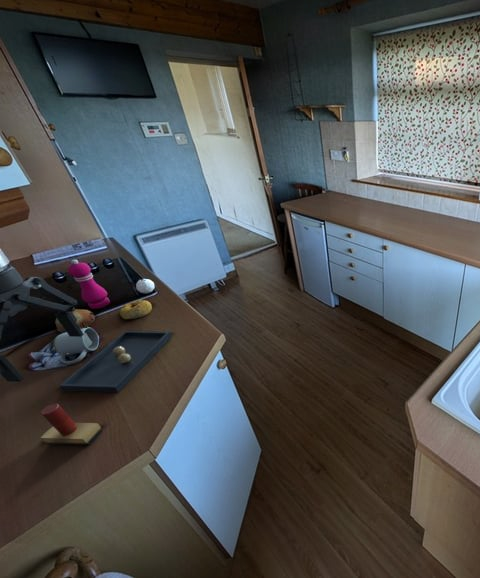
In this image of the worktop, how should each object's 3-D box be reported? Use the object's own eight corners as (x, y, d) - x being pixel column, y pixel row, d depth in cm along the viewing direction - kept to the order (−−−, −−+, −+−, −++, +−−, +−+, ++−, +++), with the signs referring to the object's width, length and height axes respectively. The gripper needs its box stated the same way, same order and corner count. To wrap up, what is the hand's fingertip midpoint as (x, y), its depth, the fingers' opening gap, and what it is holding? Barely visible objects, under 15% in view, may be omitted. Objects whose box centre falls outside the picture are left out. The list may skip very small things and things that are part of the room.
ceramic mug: (71, 346, 97) (58, 328, 93) (102, 340, 100) (90, 322, 96) (55, 369, 89) (40, 350, 85) (89, 361, 92) (76, 343, 87)
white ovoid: (140, 297, 122) (131, 281, 118) (139, 291, 126) (131, 275, 122) (157, 293, 125) (149, 277, 121) (156, 287, 129) (149, 271, 125)
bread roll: (67, 332, 108) (42, 321, 102) (93, 310, 113) (71, 299, 106) (76, 342, 104) (51, 331, 98) (102, 319, 108) (80, 308, 102)
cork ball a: (112, 357, 92) (108, 350, 90) (120, 351, 94) (115, 344, 93) (122, 358, 92) (117, 351, 90) (129, 351, 94) (125, 344, 93)
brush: (47, 445, 69) (17, 416, 63) (63, 429, 72) (36, 400, 67) (89, 446, 69) (63, 417, 63) (103, 430, 72) (80, 401, 66)
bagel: (153, 302, 120) (148, 292, 117) (153, 316, 112) (148, 306, 109) (123, 309, 115) (117, 299, 112) (120, 324, 107) (114, 314, 105)
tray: (63, 391, 82) (58, 385, 81) (127, 335, 102) (124, 330, 101) (118, 392, 82) (114, 387, 81) (172, 336, 102) (169, 331, 101)
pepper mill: (110, 306, 117) (83, 261, 106) (86, 311, 113) (57, 265, 103) (113, 297, 122) (88, 254, 111) (90, 302, 119) (63, 258, 108)
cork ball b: (117, 365, 89) (113, 358, 88) (125, 358, 92) (121, 351, 90) (127, 365, 89) (123, 358, 88) (134, 358, 92) (130, 351, 90)
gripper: (-93, 311, 43) (3, 404, 54) (65, 244, 64) (111, 321, 75) (-145, 311, 43) (-38, 404, 54) (31, 244, 64) (82, 320, 75)
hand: (49, 356), depth 65 cm, fingers open, 13 cm apart
